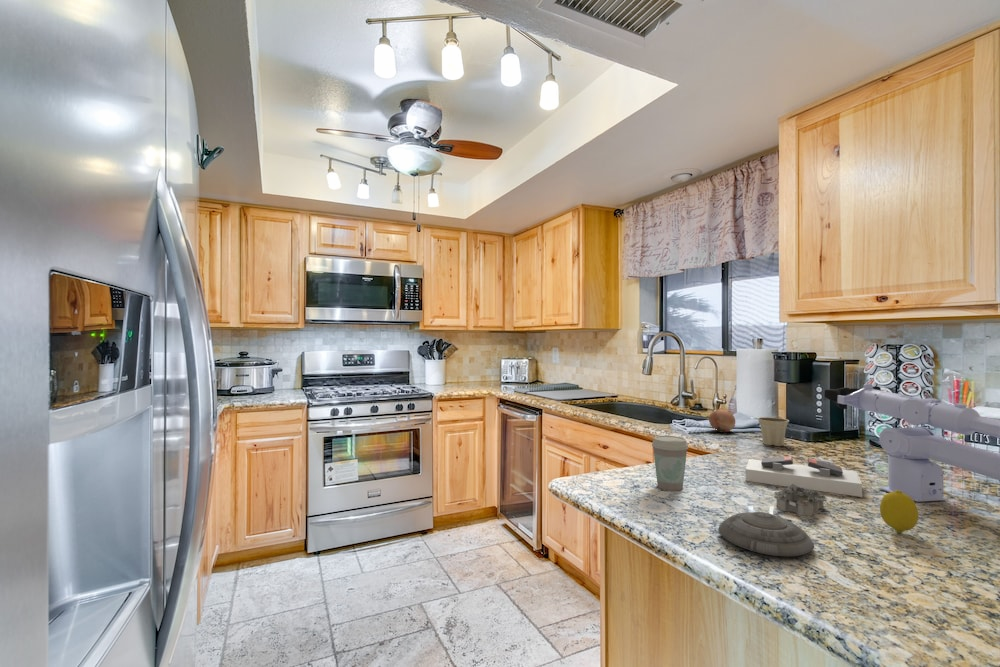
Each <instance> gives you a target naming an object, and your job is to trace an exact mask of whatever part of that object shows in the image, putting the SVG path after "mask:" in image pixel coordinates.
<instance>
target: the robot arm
mask: <svg viewBox="0 0 1000 667" xmlns="http://www.w3.org/2000/svg"><path fill="white" fill-rule="evenodd" d="M823 395H824V396H823V397H824V398H825V399H827V400H829V401H831V402H833V403H834V404H835V405H836V407H837V408H838V409H840V410H847V409H848V406H851V407H853V408H856V409H858V410H861V411H864V412H870V413H871V412H872V413H876V414H880V415H884V416H888V417H893V418H897V419H901V420H903V421H905V422H906V423H907V424H911V425H913V427H886V428H883V429H882V430H881V431H880V433H879V439H878V440H879V444H880V446H881V448H882V450H884V451H885V455H887V460H888V461H887V464H888V466H887V468H888V469H887V470H888V471H887V472H888V474H887V475H888V477H887V478H888V482H887V483H888V485H887V486H878V489H879V490H881V491H884V492H887V493H890V492H895V491H896V490H899V491H901V492H902V493H904V494H906V495H908V496H909V497H910V498H912V499H913V501H914V502H919V503H920V502H936V501H947V500H948V499H947V497H946V496H945V497H944V495H945V493H944V491H945V490H944V471H943V469H942V467H941V466H940V465H939V464H938V463H939V462H940V463H943V464H945V465H948V466H953V467H954V468H955V467H956V468H959V469H961V470H965V471H968V472H972V473H975V474H978V475H981V476H985V477H988V478H991V479H994V480H996V481H1000V453H998V452H994V451H990V450H986V449H983V448H980V447H976V446H971V445H968V444H964V443H960V442H957V441H952V440H949V439H945V438H944V436H943V435H940V434H937V433H936V432H933V431H932V430H931V429H930V428H928V427H926V426H921V425H928V426H931V427H933V428H937V429H941V430H944V431H947V432H952V433H956V434H960V435H965V436H970V435H973V434H975V433H979V434H983V435H986V436H991V437H993V438H997V439H1000V419H997V418H992V417H987V416H986V417H984V416H981V415H980V414H979V412H978V411H977V410H976V409H974V408H970V407H967V406H968V405H967V404H965V403H959V402H957V403H956V402H955V403H954V404H952V403H946V402H942V401H941V399H937V398H934V397H926V398H918V397H913V396H908V395H906V394H902V393H901V394H900V393H897V392H896V393H895V392H890V391H884V390H882V389H881V387H880V386H873V384H872V383H864V384H863V386H862V388H850V387H840V388H837V389H831V388H829V389H824V394H823ZM930 459H931V460H933V461H937V462H938V463H937V462H933V461H931V460H930Z"/></svg>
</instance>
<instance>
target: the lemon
mask: <svg viewBox="0 0 1000 667" xmlns="http://www.w3.org/2000/svg"><path fill="white" fill-rule="evenodd" d="M879 513H880V516H881V518H882V520H883V521H884V523H885V524H886V525H887V526H888V527H890V528H892V529H893V530H894V531H895V532H896V533H897V534H902V533H903V532H905V531H911V530H912V529H913V528H914V527H915V526H916V525H917V524H918V521H919V511H918V507H917V504H916V501H914V500H913V499H912V498H910V497H909V496H908V495H906V494H904V493H902V492H901V491H899V490H896V491H895V492H887V493H886V494H884V496H883V497H882V498H881V501H880V503H879Z"/></svg>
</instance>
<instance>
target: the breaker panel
mask: <svg viewBox="0 0 1000 667" xmlns="http://www.w3.org/2000/svg"><path fill="white" fill-rule="evenodd" d="M773 458H775V456H774V457H773ZM761 461H762V459H754V458H749V459H748V461H747V465H746V467H745V481H746V482H750V483H751V482H753V483H758V484H760V483H761V484H766V485H767V484H768V485H774V486H780V487H786V488H788V487H790V486H791V485H792V484H794V485H796V486H798V487H800V488H803V487H804V488H805V489H809V490H811V491H816V492H822V493H823V492H824V493H830V494H840V495H845V496H852V497H853V496H854V497H860V498H863V483H862V481H861V479H860V476H859V474H858V473H857V471H856V470H855V471H854V470H847V469H846V470H842V471H843V474H842V476H839V475H836V474H833V473H830V469H824V468H820V470H819V469H816V468H812V467H809V466H808V465H805V464H804V465H803V464H794V463H793V464H792V465H782V463H773V466H762V464H761ZM827 464H828V463H827Z"/></svg>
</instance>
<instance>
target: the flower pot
mask: <svg viewBox="0 0 1000 667" xmlns="http://www.w3.org/2000/svg"><path fill="white" fill-rule="evenodd" d="M757 421H758V423H759V426H760V430H761V431H760V432H761V439H762V444H764V445H767V446H776V447H782V446H784V444H785V437H786V430H787V427H788V424H789V423H790V420H789V419H787V418H786V419H785V418H781V417H780V418H779V417H769V416H768V417H767V416H763V417H757Z"/></svg>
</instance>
